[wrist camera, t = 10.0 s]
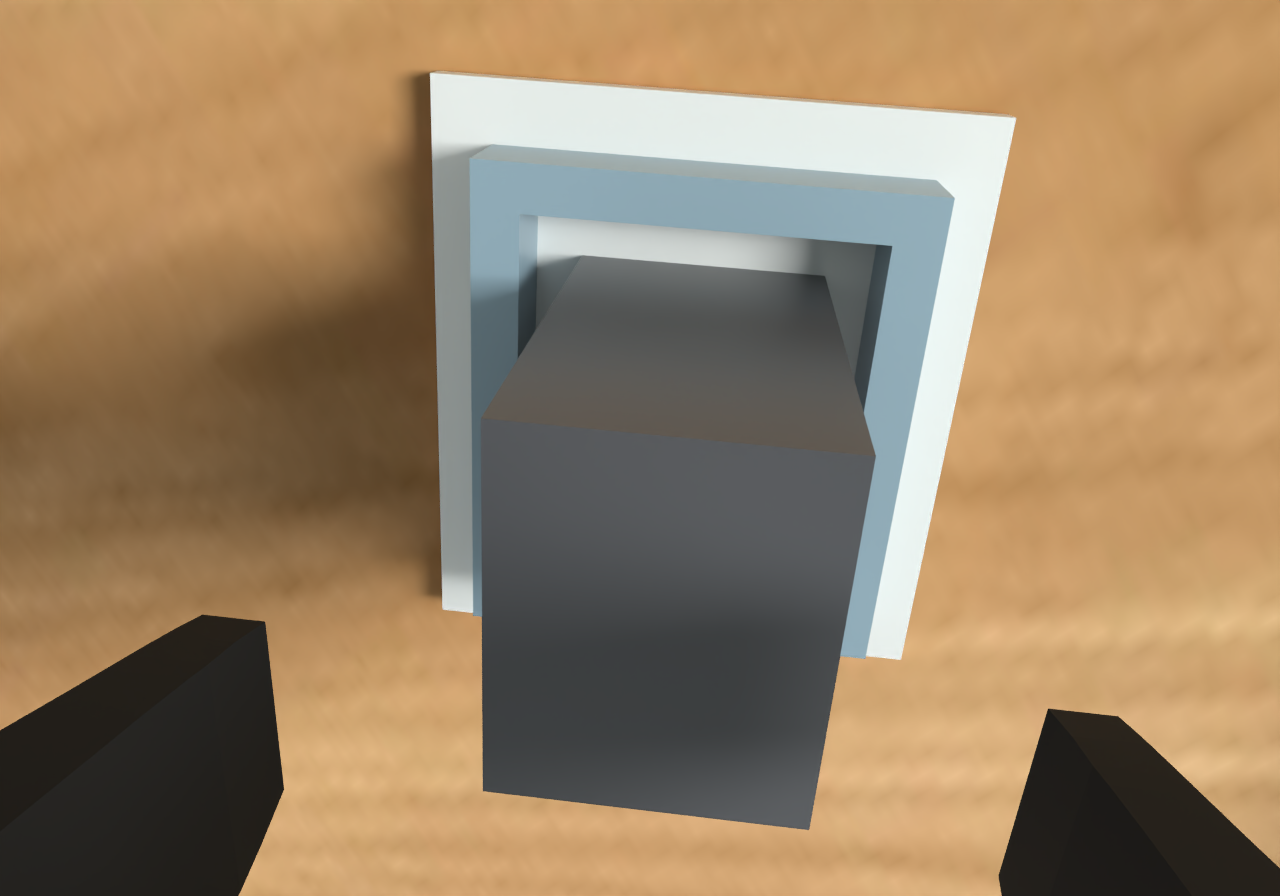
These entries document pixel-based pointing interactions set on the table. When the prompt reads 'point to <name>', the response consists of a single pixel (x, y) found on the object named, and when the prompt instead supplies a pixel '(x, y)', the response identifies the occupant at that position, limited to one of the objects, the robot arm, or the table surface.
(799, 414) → the plug
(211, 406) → the table surface
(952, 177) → the socket dock
